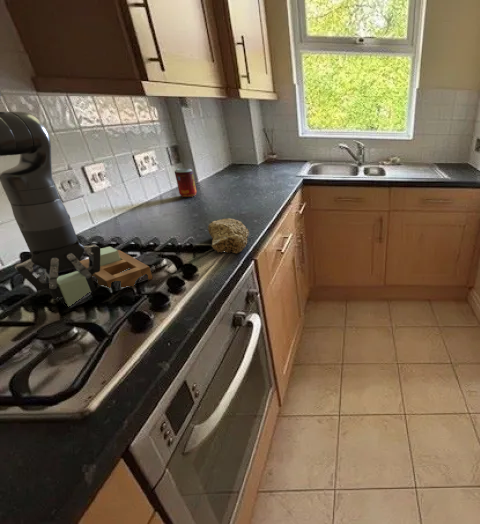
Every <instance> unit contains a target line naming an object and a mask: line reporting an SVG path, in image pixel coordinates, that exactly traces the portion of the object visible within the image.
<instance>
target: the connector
mask: <svg viewBox="0 0 480 524" xmlns="http://www.w3.org/2000/svg"><path fill="white" fill-rule="evenodd" d="M117 250H118V253H119V256H120V259H121V260H120V261H116V262H113V263H110V264H106V265H103V266H100V271H99V272H97V273H94V274H93V275H92V276H95V277H96V278H97V279H98V284H99V285H104V286H107V287H109V288H110V287H111V283H112V282H114V281H121V287H126V286H132V287H134V284H135V281H136V280H137V279H138V278H139V277H141V276H143V275H145V274H147V275H148V279H149V280H148V281H151V280H153V275H152V272H151V268H150V266H149V265H147V264H145V263H143V262H142V261H140V260H138V259H136V258H135V257H133V256H131V255H129V254H128V253H126V252H124V251H122V250H120V249H117ZM80 262H81V263H82V264H83V266H84V267H85V268H86V269H87V268H88V267H89V257H88V258H85V259H82V260H80ZM128 268H131V269H130V270H127V271H124V270H126V269H128ZM122 271H124V272H122ZM120 272H121V273H120ZM98 284H97V285H98ZM99 285H98V286H99Z"/></svg>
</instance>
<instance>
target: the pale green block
mask: <svg viewBox="0 0 480 524" xmlns="http://www.w3.org/2000/svg"><path fill="white" fill-rule="evenodd" d="M57 286H58V287H59V288H60V290H61V293H62V295H63V297H64V299H65V303H66V304H67V306H68V307H69V306H71V305H72V304H74V303H75V302H76V301H78V300H79V299H81V298H82V297H83V296H85V295H86V294H87V293H89V292H91V290H90V288H89V285H88V283H87V280H86V278H85V276H83V275H82V274H80V273H79V272H78V271H77V270H76V271H73V272H69V273H66V274H61V275H58V278H57ZM67 306H66V307H67ZM68 307H67V308H68Z"/></svg>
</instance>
